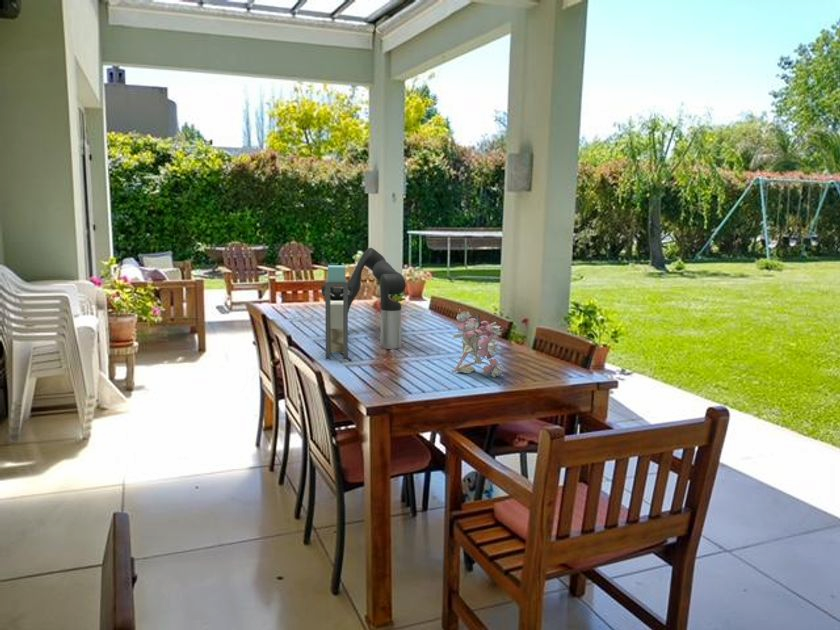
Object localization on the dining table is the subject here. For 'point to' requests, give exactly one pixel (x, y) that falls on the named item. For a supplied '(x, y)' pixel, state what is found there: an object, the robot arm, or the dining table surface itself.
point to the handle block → (336, 273)
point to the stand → (328, 316)
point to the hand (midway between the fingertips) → (337, 284)
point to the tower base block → (336, 340)
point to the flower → (485, 344)
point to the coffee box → (474, 334)
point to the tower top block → (336, 314)
